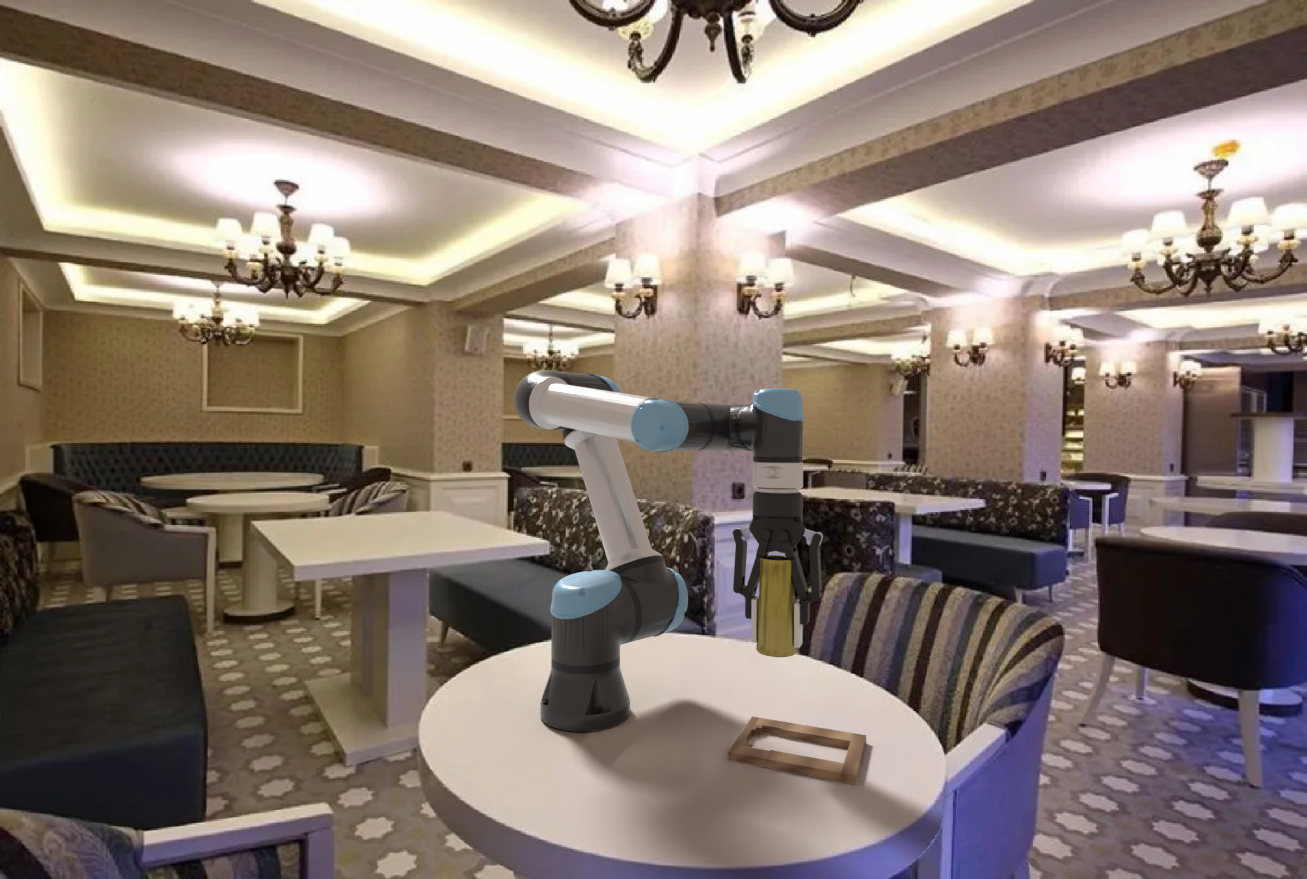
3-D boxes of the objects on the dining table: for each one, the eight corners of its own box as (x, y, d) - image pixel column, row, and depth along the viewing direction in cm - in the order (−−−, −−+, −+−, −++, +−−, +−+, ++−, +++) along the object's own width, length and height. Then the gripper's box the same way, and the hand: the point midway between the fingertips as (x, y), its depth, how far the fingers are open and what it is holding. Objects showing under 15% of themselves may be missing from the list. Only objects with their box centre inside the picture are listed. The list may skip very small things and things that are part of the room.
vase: (797, 659, 100) (797, 561, 100) (754, 656, 101) (755, 560, 101) (796, 646, 106) (797, 555, 106) (757, 644, 107) (757, 553, 107)
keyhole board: (728, 759, 99) (728, 751, 99) (752, 723, 112) (752, 716, 112) (856, 784, 92) (856, 775, 92) (866, 742, 105) (866, 735, 105)
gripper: (711, 489, 104) (710, 641, 104) (837, 494, 96) (836, 657, 96) (725, 487, 111) (724, 629, 110) (844, 490, 103) (843, 643, 103)
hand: (776, 642), depth 103 cm, fingers closed on vase, 6 cm apart
